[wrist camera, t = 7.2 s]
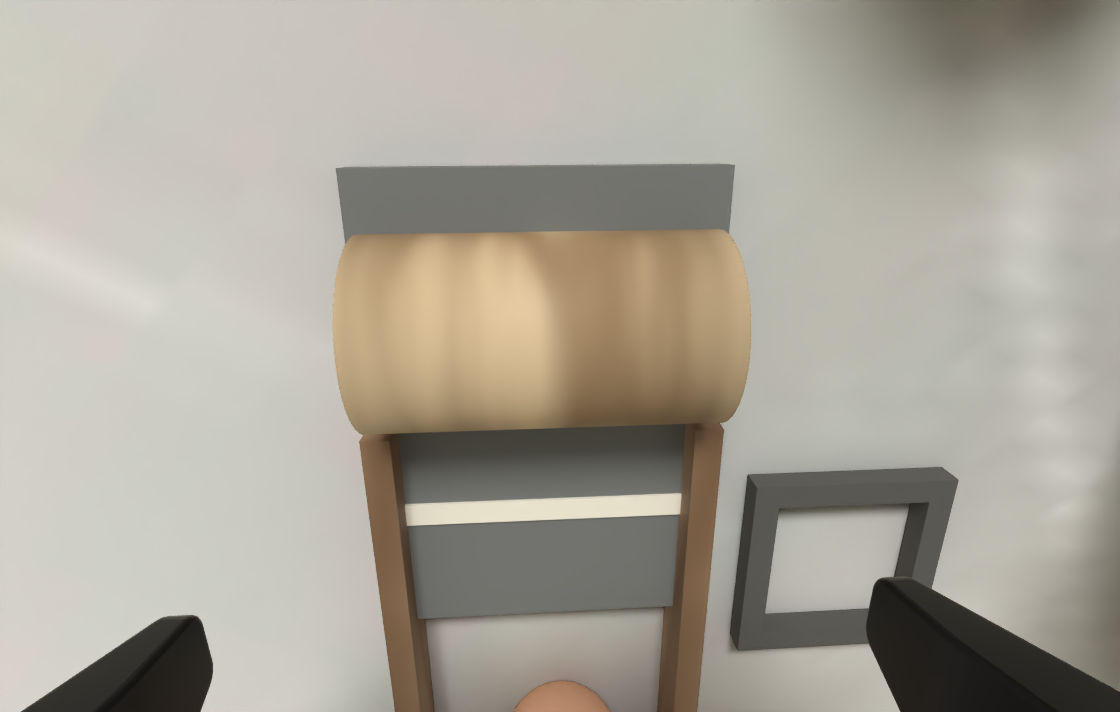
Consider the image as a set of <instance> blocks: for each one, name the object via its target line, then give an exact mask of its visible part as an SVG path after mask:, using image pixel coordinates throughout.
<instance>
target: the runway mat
mask: <svg viewBox="0 0 1120 712" xmlns="http://www.w3.org/2000/svg"><path fill="white" fill-rule="evenodd" d="M734 168H735V165H730V164H645V165H527V166H408V167H343V168H336V173H337V181H338V189H339V197H340V205H341V213H342V221H343V229H344V237H345V244H346V243H347V241H348V240H349V238H350V237H352V236H353V235H356V234H415V233H483V232H551V231H619V230H686V229H721V230H724V231H726V232H727V233H728V234H729V225H730V214H731V203H732V191H733V180H734ZM685 425H686V424H666V425H636V426H606V427H576V428H546V429H516V430H486V431H456V432H426V433H398V441H399V450H400V459H401V469H402V478H403V487H404V496H405V513H406V522H407V526H408V533H409V542H410V552H411V561H412V570H413V579H414V589H415V598H416V607H417V616H418V619H428V618H448V617H468V616H487V615H507V614H527V613H546V612H566V611H585V610H605V609H625V608H644V607H664V606H673V594H674V580H675V566H676V552H677V538H678V523H679V514H680V509H681V481H682V467H683V453H684V439H685Z"/></svg>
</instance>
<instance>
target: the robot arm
mask: <svg viewBox="0 0 1120 712" xmlns="http://www.w3.org/2000/svg"><path fill="white" fill-rule="evenodd" d="M866 635H867V639H868V642H869V645H870V647H871V649H872V651H873V654H874V656H875V658H876V660H877V662H878V664H879V667H880V669H881V671H882V673H883V675H884V677H885V679H886V682H887V684H888V686H889V688H890V690H891V692H892V695H893V697H894V699H895V701H896V703H897V705H898V708H899V710H900V712H1120V692H1119V691H1117V690H1115V689H1113V688H1111V687H1110V686H1108V685H1106V684H1104V683H1102V682H1100V681H1099V680H1097V679H1095V678H1093V677H1091V676H1090V675H1088V674H1086V673H1084V672H1082V671H1080V670H1079V669H1077V668H1075V667H1073V666H1071V665H1069V664H1068V663H1066V662H1064V661H1062V660H1060V659H1058V658H1057V657H1055V656H1053V655H1051V654H1049V653H1047V652H1046V651H1044V650H1042V649H1040V648H1038V647H1036V646H1035V645H1033V644H1031V643H1029V642H1027V641H1026V640H1024V639H1022V638H1020V637H1018V636H1016V635H1015V634H1013V633H1011V632H1009V631H1007V630H1005V629H1004V628H1002V627H1000V626H998V625H996V624H994V623H993V622H991V621H989V620H987V619H985V618H983V617H982V616H980V615H978V614H976V613H974V612H973V611H971V610H969V609H967V608H965V607H963V606H962V605H960V604H958V603H956V602H954V601H952V600H951V599H949V598H947V597H945V596H943V595H941V594H940V593H938V592H936V591H934V590H932V589H930V588H929V587H927V586H925V585H923V584H921V583H919V582H918V581H916V580H914V579H912V578H909V577H886V578H880V579H878V580H877V581H876V583H875V584H874V587H873V592H872V596H871V601H870V606H869V611H868V616H867V620H866ZM212 675H213V662H212V658H211V654H210V650H209V647H208V643H207V639H206V635H205V631H204V628H203V624H202V622H201V620H200V619H199V618H198V617H197V616H194V615H181V616H167V617H163V618H160V619H159V620H157V621H155V622H154V623H152V624H151V625H149V626H148V627H146V628H145V629H143V630H142V631H140V632H139V633H137V634H136V635H134V636H133V637H131V638H130V639H128V640H127V641H125V642H124V643H122V644H121V645H120V646H118V647H117V648H115V649H114V650H112V651H111V652H109V653H108V654H106V655H105V656H103V657H102V658H100V659H99V660H97V661H96V662H94V663H93V664H91V665H90V666H88V667H87V668H85V669H84V670H82V671H81V672H79V673H78V674H76V675H75V676H73V677H72V678H70V679H69V680H67V681H66V682H64V683H63V684H61V685H60V686H59V687H57V688H56V689H54V690H53V691H51V692H50V693H48V694H47V695H45V696H44V697H42V698H41V699H39V700H38V701H36V702H35V703H33V704H32V705H30V706H29V707H27V708H26V709H24V710H23V711H21V712H200V711H201V709H202V706H203V703H204V701H205V698H206V695H207V692H208V690H209V687H210V684H211V680H212Z"/></svg>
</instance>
